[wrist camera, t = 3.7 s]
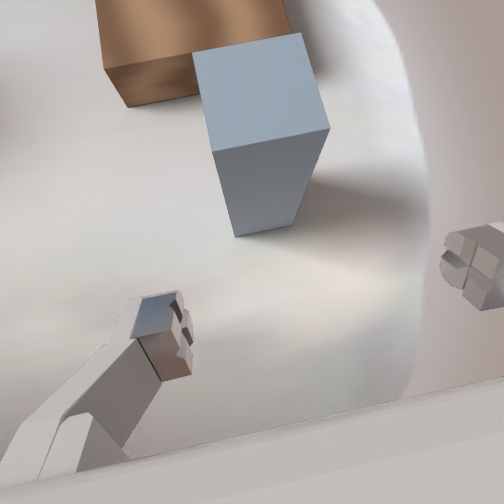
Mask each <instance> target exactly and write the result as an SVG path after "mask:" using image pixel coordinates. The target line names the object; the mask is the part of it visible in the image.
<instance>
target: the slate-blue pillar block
mask: <svg viewBox="0 0 504 504" xmlns="http://www.w3.org/2000/svg"><path fill="white" fill-rule="evenodd" d="M192 56H193V60H194V65H195V70H196V75H197V80H198V85H199V90H200V95H201V100H202V105H203V109H204V114H205V119H206V124H207V129H208V134H209V139H210V144H211V149H212V153H213V157H214V161H215V164H216V168H217V172H218V176H219V179H220V183H221V187H222V191H223V194H224V198H225V202H226V206H227V209H228V213H229V217H230V221H231V224H232V228H233V232H234V236H235V237H238V236H243V235H247V234H252V233H257V232H262V231H266V230H271V229H276V228H281V227H286V226H290V225H292V223H293V221H294V218H295V216H296V213H297V211H298V208H299V206H300V203H301V201H302V198H303V196H304V193H305V190H306V188H307V185H308V183H309V180H310V178H311V175H312V173H313V170H314V168H315V165H316V163H317V160H318V158H319V155H320V153H321V150H322V148H323V145H324V143H325V140H326V138H327V135H328V133H329V130H330V125H329V122H328V119H327V116H326V112H325V109H324V106H323V103H322V99H321V96H320V93H319V89H318V86H317V83H316V80H315V76H314V73H313V70H312V67H311V63H310V60H309V57H308V54H307V50H306V47H305V44H304V41H303V37H302V34H301V32H300V33H294V34H289V35H284V36H278V37H273V38H268V39H262V40H257V41H252V42H246V43H241V44H236V45H230V46H225V47H220V48H214V49H209V50H204V51H198V52H193V53H192Z"/></svg>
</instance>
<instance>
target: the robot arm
mask: <svg viewBox="0 0 504 504" xmlns="http://www.w3.org/2000/svg"><path fill="white" fill-rule="evenodd" d="M444 246H445V247H446V248H447V251H446V252H445V253H444V254H443V256H442V257H441V261H440V270H441V274H442V276H443V277H444V279H445V281H447V282H448V283H449V284H450V285H451V286H453V287H456V288H458V289H461V290H462V295H463V297H465V298H466V299H467V300H468V301H469V302H470V303H471V304H472V305H474V306H475V307H476V308H477V309H478V310H479V311H483V310H489V309H494V308H500V307H504V221H498V222H494V223H489V224H486V225H482V226H479V227H474V228H470V229H465V230H460V231H456V232H451V233H449V234H448V236H447V237H446V239H445V244H444ZM193 335H194V334H193V325H192V321H191V317H190V314H189V311H187V310H186V309H184V299H183V296H182V294H181V292H180V291H179V290H175V291H170V292H165V293H160V294H154V295H149V296H145V297H139V298H134V299H130V300H127V301H126V302H125V303H124V305H123V308H122V311H121V314H120V316H119V319H118V322H117V325H116V328H115V331H114V333H113V336H112V339H111V342H110V344H107V345H104V346H103V347H102V348H101V349H100V350H99V351H98V352H96V353H95V354H94V355H93V356H92V357H91V358H90V359H89V360H88V361H87V362H86V363H85V364H84V365H83V366H82V367H81V368H80V369H79V370H78V371H77V372H75V373H74V374H73V375H72V376H71V377H70V378H69V379H68V380H67V381H66V382H65V383H64V384H63V385H62V386H61V387H60V388H59V389H58V390H57V391H56V392H54V393H53V394H52V395H51V396H50V397H49V398H48V399H47V400H46V401H45V402H44V403H43V404H42V405H41V406H40V407H39V408H38V409H37V410H36V411H35V412H33V413H32V414H31V415H30V416H29V417H28V418H27V419H26V420H25V421H24V422H23V423H22V424H21V425H20V426H19V428H18V430H17V432H16V434H15V436H14V437H13V439H12V441H11V443H10V445H9V447H8V449H7V451H6V453H5V455H4V456H3V458H2V460H1V462H0V504H504V376H502V377H497V378H493V379H488V380H484V381H479V382H475V383H471V384H466V385H462V386H457V387H453V388H449V389H444V390H440V391H435V392H432V393H427V394H422V395H418V396H413V397H409V398H404V399H400V400H396V401H391V402H387V403H382V404H378V405H374V406H369V407H365V408H360V409H356V410H352V411H347V412H343V413H338V414H334V415H330V416H325V417H321V418H316V419H312V420H307V421H303V422H299V423H294V424H290V425H285V426H281V427H277V428H272V429H268V430H263V431H259V432H254V433H250V434H246V435H241V436H237V437H232V438H228V439H223V440H219V441H215V442H210V443H206V444H201V445H197V446H192V447H188V448H184V449H179V450H175V451H170V452H166V453H162V454H157V455H153V456H148V457H144V458H139V459H135V460H131V459H130V458H129V457H128V456H127V455H126V453H125V452H124V451H123V450H122V447H123V446H124V444H125V442H126V441H127V439H128V438H129V436H130V434H131V433H132V431H133V430H134V428H135V426H136V425H137V423H138V422H139V420H140V418H141V417H142V415H143V413H144V412H145V410H146V409H147V407H148V405H149V404H150V402H151V401H152V399H153V397H154V396H155V394H156V393H157V391H158V389H159V388H160V386H161V385H162V383H161V382H164V381H168V380H172V379H176V378H180V377H184V376H188V375H192V359H193V354H192V351H191V349H190V346H191V344H192V343H193Z"/></svg>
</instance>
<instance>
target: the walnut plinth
mask: <svg viewBox="0 0 504 504" xmlns="http://www.w3.org/2000/svg"><path fill="white" fill-rule="evenodd" d="M95 2H96V10H97V18H98V26H99V34H100V43H101V51H102V59H103V67H104V70H105V72H106V73H107V75H108V77H109V78H110V80H111V81H112V83H113V85H114V86H115V88H116V90H117V91H118V93H119V94H120V96H121V98H122V99H123V101H124V102H125V104H126V106H127V107H133V106H138V105H143V104H148V103H153V102H159V101H164V100H169V99H174V98H179V97H184V96H190V95H195V94H200V90H199V85H198V80H197V75H196V70H195V65H194V60H193V56H192V53H193V52H198V51H204V50H209V49H214V48H220V47H225V46H230V45H236V44H241V43H246V42H252V41H257V40H262V39H268V38H273V37H278V36H284V35H289V34H292V32H291V29H290V26H289V22H288V19H287V16H286V12H285V9H284V6H283V2H282V0H95Z"/></svg>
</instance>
